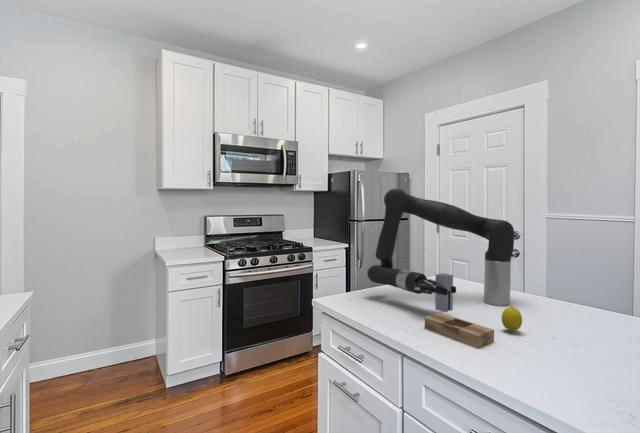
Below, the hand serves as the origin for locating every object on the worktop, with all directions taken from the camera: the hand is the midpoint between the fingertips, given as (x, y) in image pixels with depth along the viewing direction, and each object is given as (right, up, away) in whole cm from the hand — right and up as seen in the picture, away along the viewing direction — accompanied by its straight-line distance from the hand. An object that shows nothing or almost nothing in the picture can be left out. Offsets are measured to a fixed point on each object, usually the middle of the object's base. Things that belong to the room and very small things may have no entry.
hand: (451, 291), depth 114 cm
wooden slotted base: (-2, -11, -11) cm, 15 cm away
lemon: (+15, -11, -8) cm, 21 cm away
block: (-2, -7, +3) cm, 8 cm away
